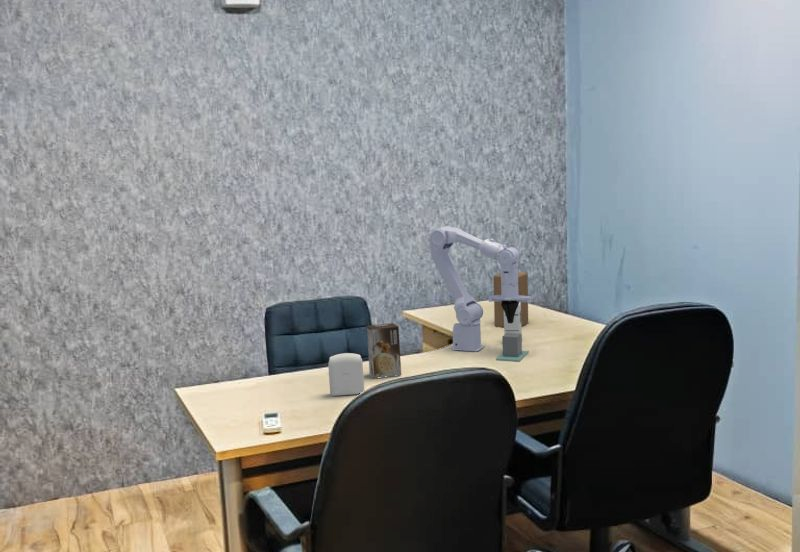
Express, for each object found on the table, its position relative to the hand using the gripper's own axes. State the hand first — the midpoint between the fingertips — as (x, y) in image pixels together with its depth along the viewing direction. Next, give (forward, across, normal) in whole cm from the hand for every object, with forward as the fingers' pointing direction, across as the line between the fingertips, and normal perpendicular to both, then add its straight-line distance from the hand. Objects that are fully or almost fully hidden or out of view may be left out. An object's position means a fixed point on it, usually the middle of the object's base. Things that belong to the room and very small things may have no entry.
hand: (510, 322), depth 320 cm
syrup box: (+11, -3, +14) cm, 18 cm away
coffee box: (+10, -31, -37) cm, 50 cm away
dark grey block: (+10, +2, -5) cm, 11 cm away
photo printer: (+10, -34, -59) cm, 69 cm away
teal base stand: (+10, +2, -5) cm, 12 cm away
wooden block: (+10, -11, +41) cm, 44 cm away
